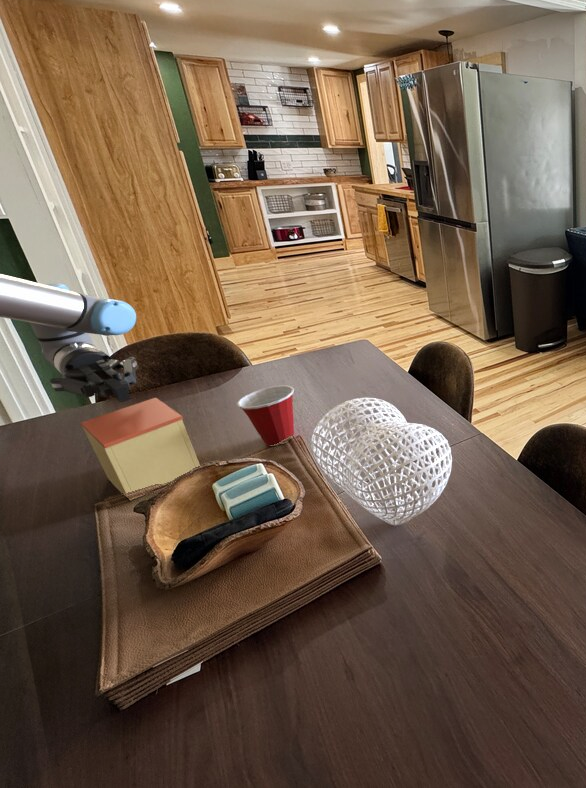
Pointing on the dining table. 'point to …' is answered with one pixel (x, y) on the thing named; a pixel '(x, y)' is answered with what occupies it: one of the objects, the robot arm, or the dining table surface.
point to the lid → (130, 422)
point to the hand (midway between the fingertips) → (123, 394)
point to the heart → (382, 459)
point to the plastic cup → (270, 412)
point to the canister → (147, 458)
